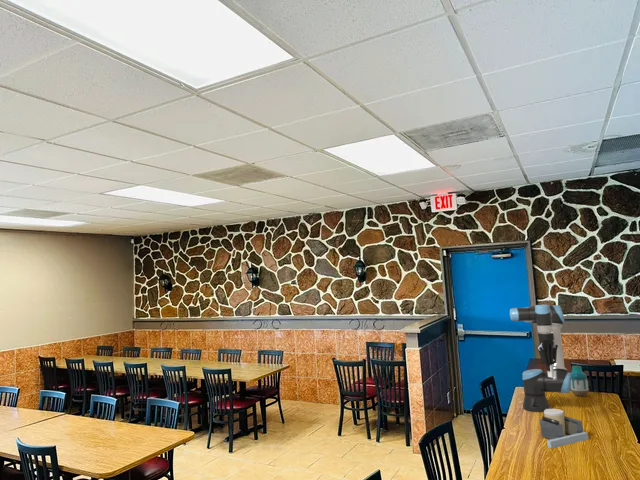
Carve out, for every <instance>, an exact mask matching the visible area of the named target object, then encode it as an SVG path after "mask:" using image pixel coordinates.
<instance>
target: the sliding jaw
mask: <svg viewBox="0 0 640 480" xmlns="http://www.w3.org/2000/svg"><path fill="white" fill-rule="evenodd" d="M539 425H540V433H541V437H543V438H546V439H548V440H551V439H555V438H560V437H564V432H563V426H562V424H560V423H559V421H557V420H554V419H550V418H547V417H545V415H544V416H542V417H541V419H539Z"/></svg>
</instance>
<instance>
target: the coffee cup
mask: <svg viewBox="0 0 640 480" xmlns="http://www.w3.org/2000/svg"><path fill="white" fill-rule="evenodd" d="M543 414H544V417H547V418H550V419H554V420H557V421H559V423H560V424H562V426H563V432H564V436H566V434H565V420H564V416H565V412H564V411H563V410H562V409H558V408H550V409H546V410H544V412H543Z"/></svg>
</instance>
